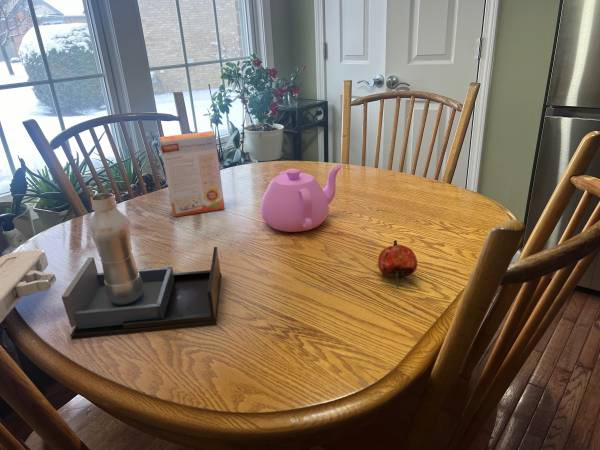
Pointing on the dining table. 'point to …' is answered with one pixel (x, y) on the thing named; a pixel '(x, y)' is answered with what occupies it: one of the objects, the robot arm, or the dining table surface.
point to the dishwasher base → (176, 305)
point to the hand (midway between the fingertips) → (52, 281)
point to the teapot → (297, 200)
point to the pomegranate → (397, 261)
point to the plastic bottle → (115, 250)
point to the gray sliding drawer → (107, 312)
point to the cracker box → (192, 173)
